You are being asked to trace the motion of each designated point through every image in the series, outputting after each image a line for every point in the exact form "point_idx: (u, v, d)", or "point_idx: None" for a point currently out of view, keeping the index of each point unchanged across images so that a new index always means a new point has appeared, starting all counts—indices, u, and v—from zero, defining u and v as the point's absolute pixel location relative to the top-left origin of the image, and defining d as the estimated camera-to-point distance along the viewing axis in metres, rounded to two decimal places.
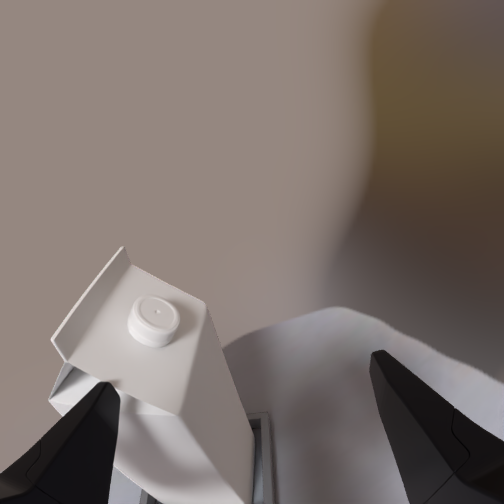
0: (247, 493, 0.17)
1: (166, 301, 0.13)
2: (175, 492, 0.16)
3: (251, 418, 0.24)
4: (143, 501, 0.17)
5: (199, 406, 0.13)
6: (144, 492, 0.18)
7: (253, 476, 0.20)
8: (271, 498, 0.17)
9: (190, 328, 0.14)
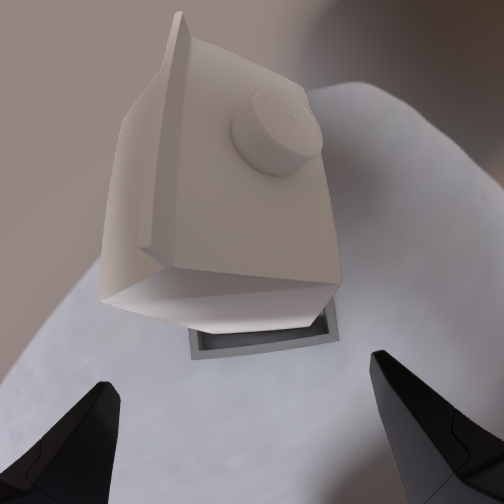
0: None
1: (292, 96, 0.07)
2: (241, 327, 0.18)
3: None
4: (193, 339, 0.21)
5: None
6: None
7: None
8: (333, 311, 0.21)
9: None
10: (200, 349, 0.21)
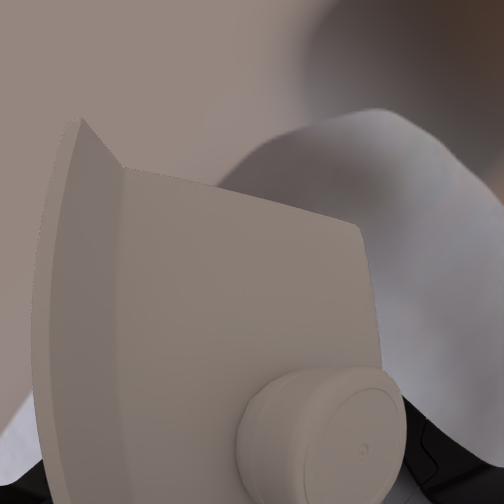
0: None
1: (371, 380, 0.03)
2: None
3: None
4: None
5: None
6: None
7: None
8: None
9: (366, 346, 0.05)
10: None
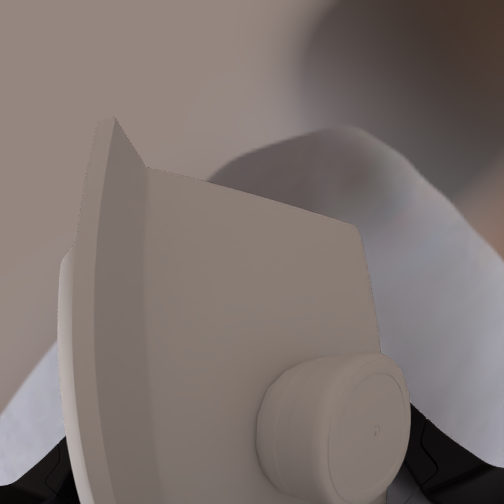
0: None
1: (379, 365, 0.04)
2: None
3: None
4: None
5: None
6: None
7: None
8: None
9: (367, 338, 0.05)
10: None
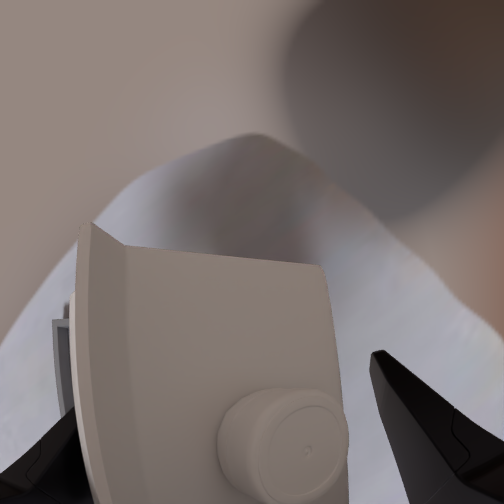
0: None
1: (311, 400, 0.04)
2: None
3: None
4: None
5: None
6: (62, 411, 0.20)
7: None
8: None
9: (324, 367, 0.06)
10: None
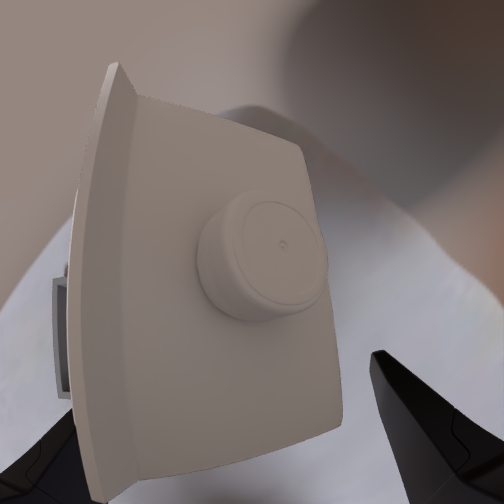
0: None
1: (285, 200, 0.05)
2: None
3: None
4: (58, 381, 0.20)
5: None
6: (57, 370, 0.21)
7: None
8: None
9: None
10: (65, 389, 0.21)
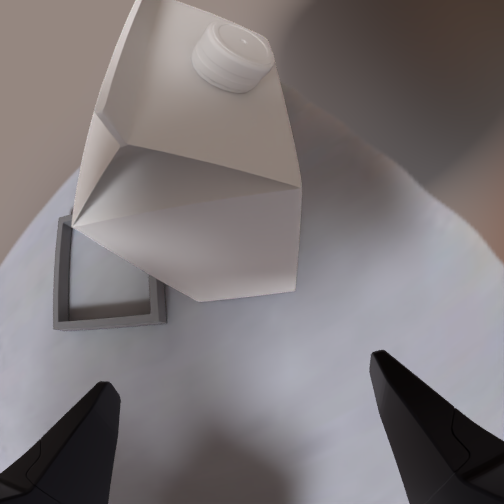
0: None
1: (246, 29, 0.07)
2: (223, 286, 0.18)
3: None
4: (55, 311, 0.22)
5: None
6: (55, 301, 0.23)
7: None
8: (157, 293, 0.22)
9: None
10: (61, 321, 0.23)
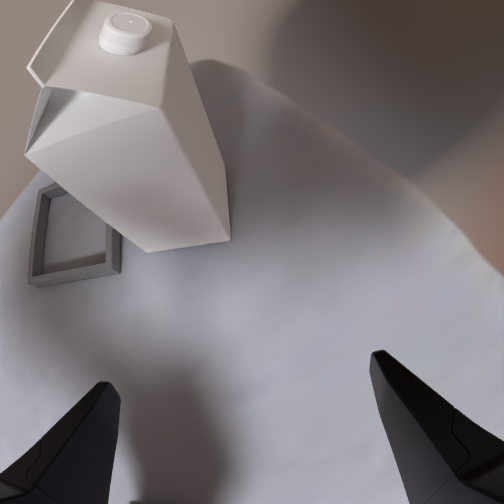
0: (225, 219, 0.23)
1: (136, 14, 0.10)
2: (157, 228, 0.21)
3: None
4: (30, 268, 0.25)
5: (177, 107, 0.12)
6: (31, 259, 0.25)
7: None
8: (111, 245, 0.24)
9: (160, 38, 0.12)
10: None
